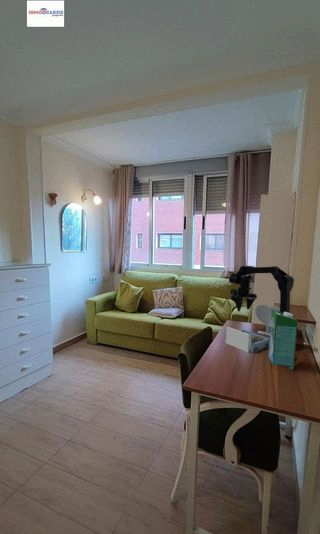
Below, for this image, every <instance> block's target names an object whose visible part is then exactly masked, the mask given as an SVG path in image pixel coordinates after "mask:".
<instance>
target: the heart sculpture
mask: <svg viewBox="0 0 320 534" xmlns="http://www.w3.org/2000/svg"><path fill="white" fill-rule="evenodd" d="M272 309H273V310H276V311H279V312H280V306H276V305H272V306H269V305H266V304H258V305H257V306H256V307H255V309H254V310H255V316H256V318H257V319H258V320H259V321H260V322H261V323H262V324H263V325H265V331H262V330H257V331H258V332H257V333H256V334H259V335H264V334H265V335H264V336H269V337H270V325H271V311H272Z"/></svg>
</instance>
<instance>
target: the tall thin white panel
mask: <svg viewBox="0 0 320 534" xmlns="http://www.w3.org/2000/svg"><path fill="white" fill-rule="evenodd" d="M225 341H226V342H225V344H227V345H229V346H232V347H234V348H237V349H238V350H239V349H240V350H241V351H243V352H246V353H250V352H249V348H250V334H247V333H244V332H241V331H240V330H238V329H235V328H232V327H230V326H226V333H225Z"/></svg>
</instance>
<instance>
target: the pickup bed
mask: <svg viewBox="0 0 320 534" xmlns="http://www.w3.org/2000/svg"><path fill="white" fill-rule="evenodd" d="M239 331H241V332H244V333H247V334H250V348H249V352H248V353H251V354H253V353H254V354H257V353H259V352H260V351H261V350H263V349H269V339H270V337H266V336H265V335H262V334H259V333H256V332H252V331H249V330H246V329H240V330H239ZM253 336H259V337H262V338H263V340H262V341H259V342H256V343H254V344H251V337H253ZM224 341H225V343H226V340H224Z"/></svg>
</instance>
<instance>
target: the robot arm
mask: <svg viewBox="0 0 320 534" xmlns="http://www.w3.org/2000/svg"><path fill="white" fill-rule="evenodd" d="M255 274H271V275H272V277H273V279H274V280H275V281H276V282H277V288H278V290H279V294H280V295H279V296H280V298H279V308H280V312H283V313H284V312H288V313H290V311H291V310H290V309H291V291H292V290H293V287H294V283H295V279H294V277H293V276H291V275H289V274H288V273H287V272H286V271H284V270H283V269H281V268H280V267H279V266H276V265H273V266H253V265H241V266H240V267H239V270H238V271H236V273H235V272H234V273H233V272H232V273H231V275H230V276H229V278H228V282H229V284H231V285H237V286H238V285H239V286H238V288H237V289H235V288H230V294H231V296H230V300H231V301H232V302H234V304H235V306H236V309H237V312H239V313H240V312H241V309H242V305H243V301H244V299H245V300H246V309H247V310H250V308H251V306H252V305H253V303H254V302H255V301H256V299H258V298H257V297H258V296H257V293H253V292H250V290H252V288H251V285H250V284H251V281H252V280H254V278H253V276H252V275H255ZM290 314H291V313H290ZM297 336H298V334H297V335H296V337H297Z"/></svg>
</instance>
